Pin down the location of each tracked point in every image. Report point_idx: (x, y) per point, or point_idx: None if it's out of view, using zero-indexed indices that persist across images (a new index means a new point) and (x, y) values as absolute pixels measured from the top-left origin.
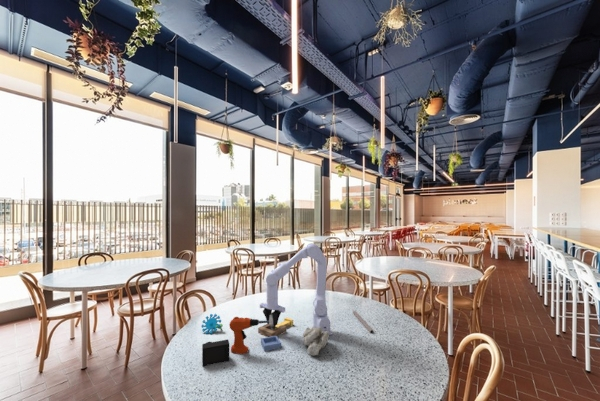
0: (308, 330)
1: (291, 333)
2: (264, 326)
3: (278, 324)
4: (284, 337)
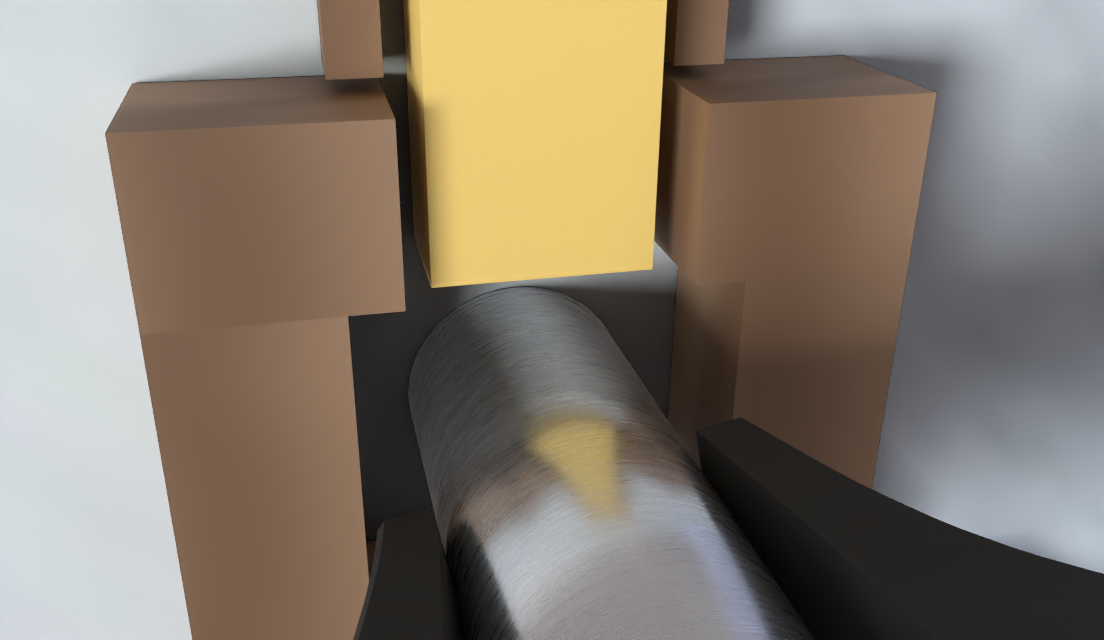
0: None
1: (1040, 38)
2: (286, 620)
3: (463, 67)
4: (990, 344)
